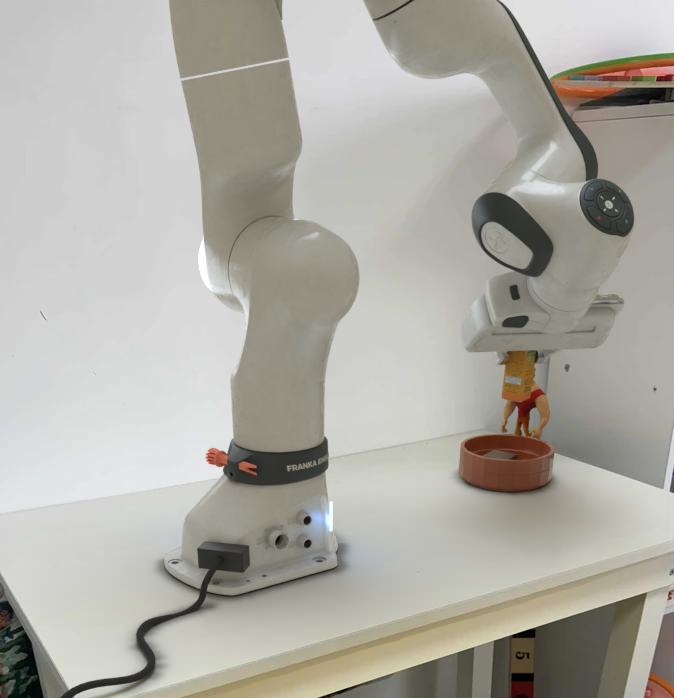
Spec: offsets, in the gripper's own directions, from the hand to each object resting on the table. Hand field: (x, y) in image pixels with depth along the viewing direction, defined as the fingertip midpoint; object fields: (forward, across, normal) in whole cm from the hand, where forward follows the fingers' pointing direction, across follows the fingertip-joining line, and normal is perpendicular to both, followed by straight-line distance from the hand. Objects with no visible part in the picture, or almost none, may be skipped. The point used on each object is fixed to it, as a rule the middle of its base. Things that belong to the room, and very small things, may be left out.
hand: (518, 360), depth 124 cm
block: (+14, +1, +12) cm, 19 cm away
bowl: (+17, -2, +10) cm, 20 cm away
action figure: (+26, -9, +2) cm, 27 cm away
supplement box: (+4, 0, +4) cm, 6 cm away
